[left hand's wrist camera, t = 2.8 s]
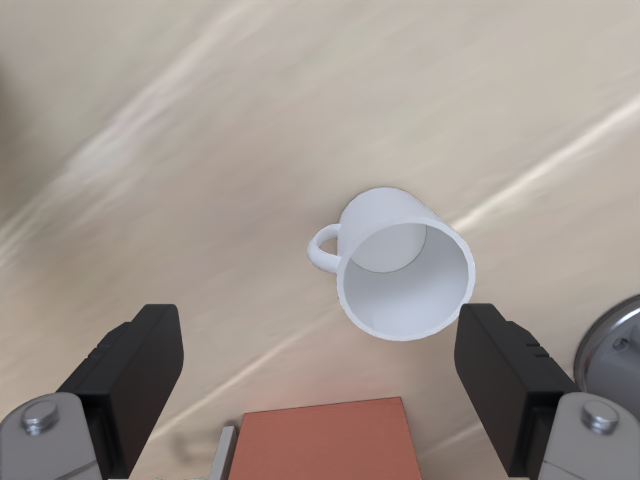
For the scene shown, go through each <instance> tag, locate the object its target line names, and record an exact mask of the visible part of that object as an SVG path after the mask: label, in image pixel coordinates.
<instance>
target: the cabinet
mask: <svg viewBox="0 0 640 480" xmlns="http://www.w3.org/2000/svg"><path fill="white" fill-rule="evenodd" d="M228 480H422V477H421V473H420V469H419V465H418V462H417V458H416V454H415V450H414V446H413V442H412V439H411V435H410V431H409V427H408V423H407V420H406V416H405V412H404V408H403V404H402V401H401V397H396V398H386V399H377V400H368V401H358V402H349V403H340V404H330V405H321V406H312V407H302V408H293V409H284V410H275V411H265V412H256V413H247V414H244V417H243V421H242V425H241V429H240V433H239V437H238V441H237V445H236V450H235V454H234V458H233V462H232V466H231V470H230V474H229V479H228Z"/></svg>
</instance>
